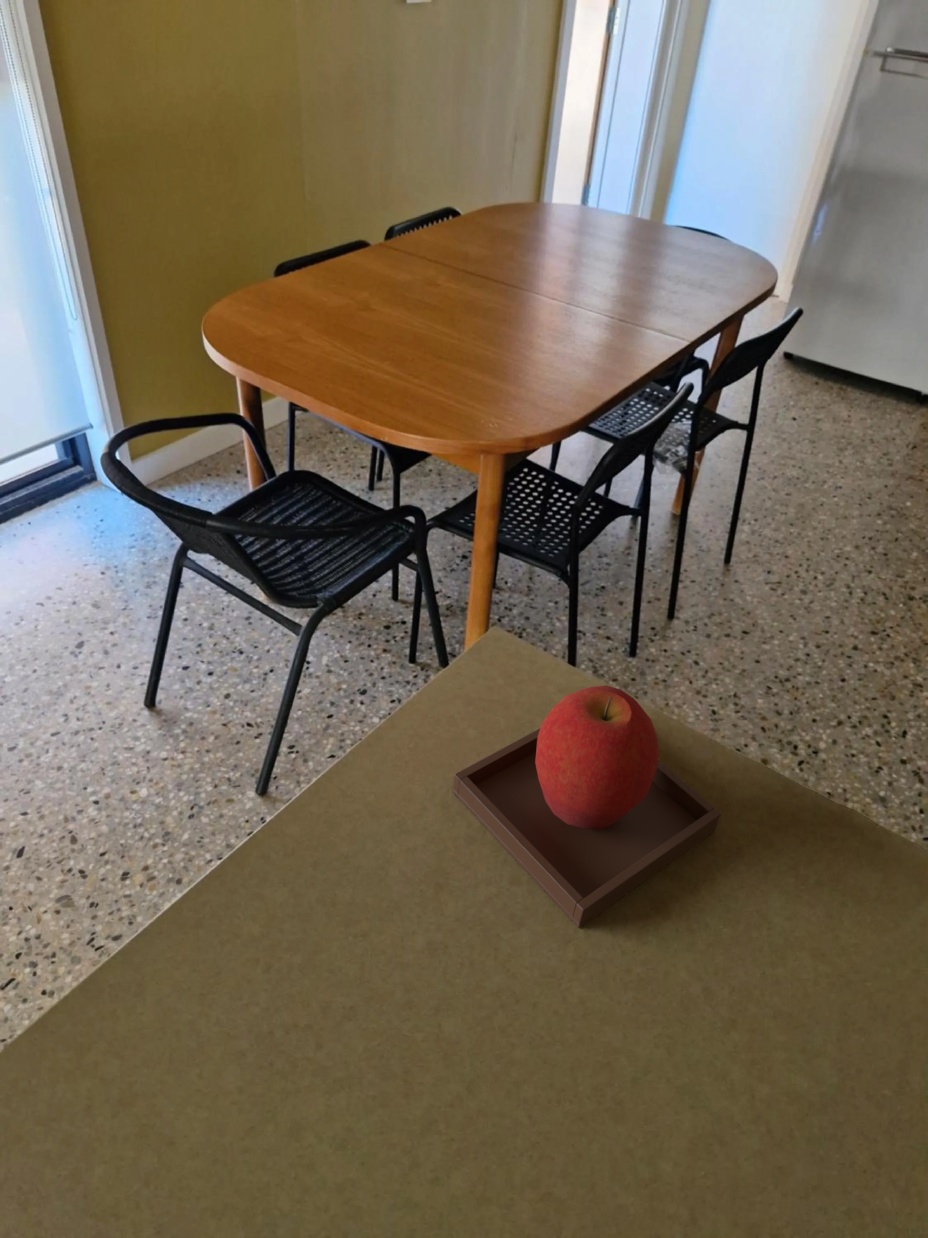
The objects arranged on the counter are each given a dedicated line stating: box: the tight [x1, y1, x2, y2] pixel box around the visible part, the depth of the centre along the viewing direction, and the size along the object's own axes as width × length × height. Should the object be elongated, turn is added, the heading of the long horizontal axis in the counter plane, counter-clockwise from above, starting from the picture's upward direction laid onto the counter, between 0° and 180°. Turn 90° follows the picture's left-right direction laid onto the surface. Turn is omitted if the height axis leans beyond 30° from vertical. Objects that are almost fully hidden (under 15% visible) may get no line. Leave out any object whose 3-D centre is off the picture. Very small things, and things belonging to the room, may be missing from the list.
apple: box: [535, 684, 661, 829], centre depth 74 cm, size 10×10×14 cm
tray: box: [452, 728, 722, 929], centre depth 78 cm, size 17×17×2 cm
